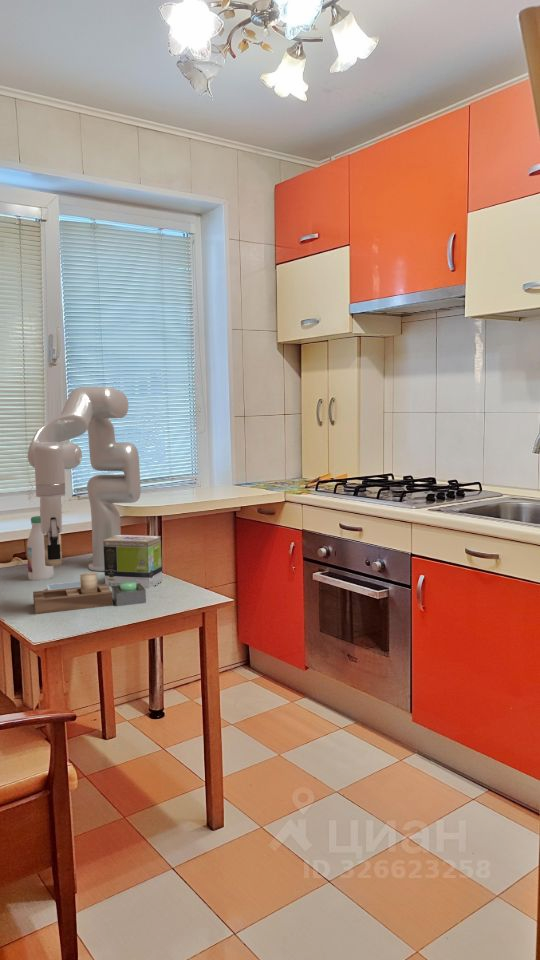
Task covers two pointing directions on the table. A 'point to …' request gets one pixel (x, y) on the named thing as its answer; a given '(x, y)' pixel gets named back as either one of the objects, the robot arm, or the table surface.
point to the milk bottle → (37, 553)
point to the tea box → (132, 560)
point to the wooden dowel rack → (71, 599)
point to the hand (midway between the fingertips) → (53, 556)
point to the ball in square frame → (128, 595)
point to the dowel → (47, 562)
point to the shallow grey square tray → (63, 585)
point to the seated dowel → (88, 583)
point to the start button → (128, 586)
